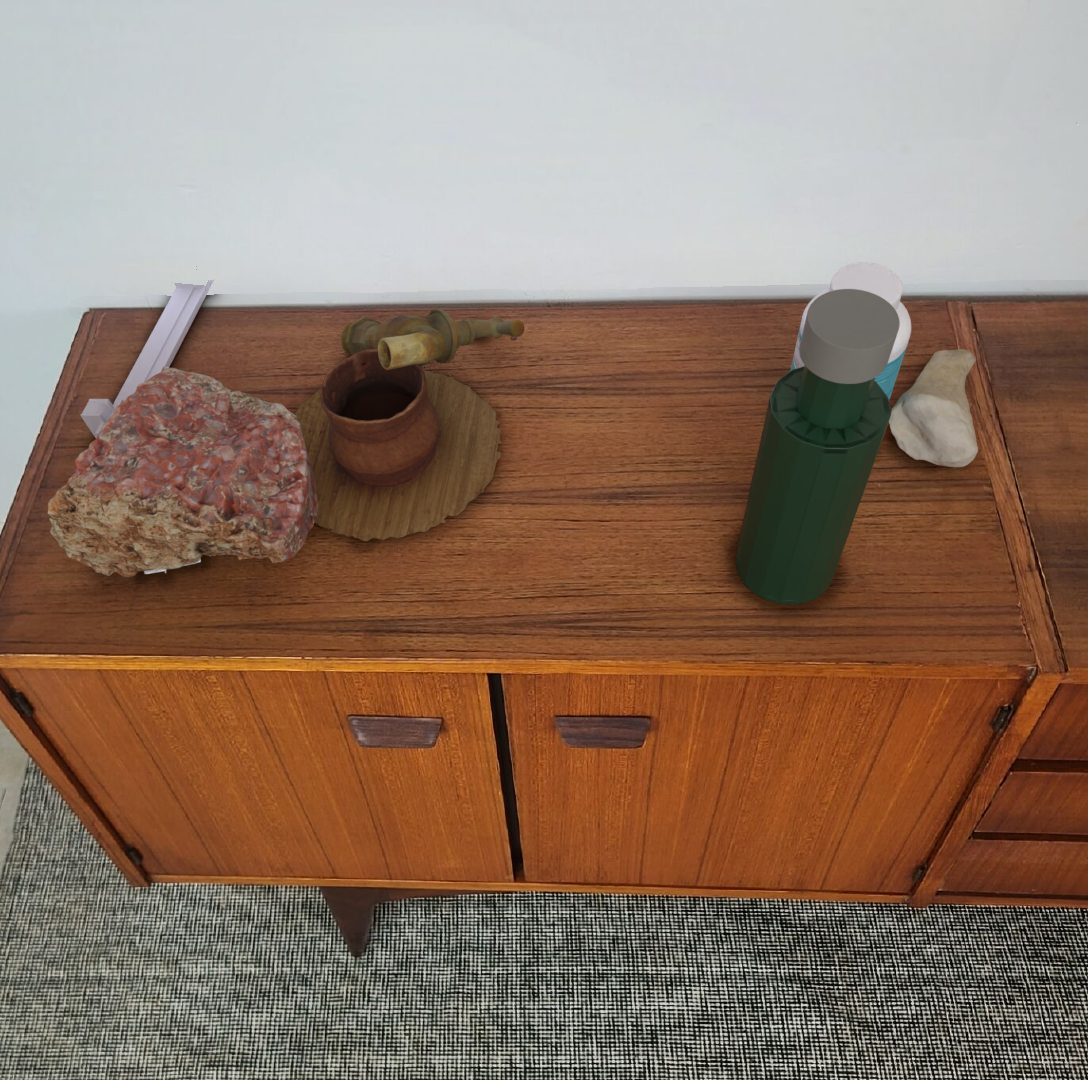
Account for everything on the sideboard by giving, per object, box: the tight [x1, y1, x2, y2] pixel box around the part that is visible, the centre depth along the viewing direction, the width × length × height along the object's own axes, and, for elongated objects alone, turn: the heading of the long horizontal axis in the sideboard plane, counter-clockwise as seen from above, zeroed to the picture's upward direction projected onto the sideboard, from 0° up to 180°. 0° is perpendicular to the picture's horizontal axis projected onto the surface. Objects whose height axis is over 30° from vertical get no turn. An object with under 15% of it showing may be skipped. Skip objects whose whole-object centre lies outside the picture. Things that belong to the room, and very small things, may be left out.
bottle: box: [735, 365, 892, 606], centre depth 68 cm, size 7×7×20 cm
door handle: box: [80, 266, 215, 439], centre depth 90 cm, size 21×3×3 cm
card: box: [143, 557, 202, 575], centre depth 80 cm, size 9×3×1 cm, turn 110°
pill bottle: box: [789, 261, 912, 400], centre depth 77 cm, size 8×7×14 cm
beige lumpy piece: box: [888, 348, 979, 468], centre depth 81 cm, size 11×6×5 cm, turn 167°
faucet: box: [340, 308, 525, 370], centre depth 85 cm, size 15×4×15 cm
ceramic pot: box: [294, 349, 502, 542], centre depth 81 cm, size 18×18×7 cm
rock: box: [47, 366, 318, 579], centre depth 77 cm, size 17×10×15 cm
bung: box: [799, 289, 900, 384], centre depth 59 cm, size 5×5×4 cm
